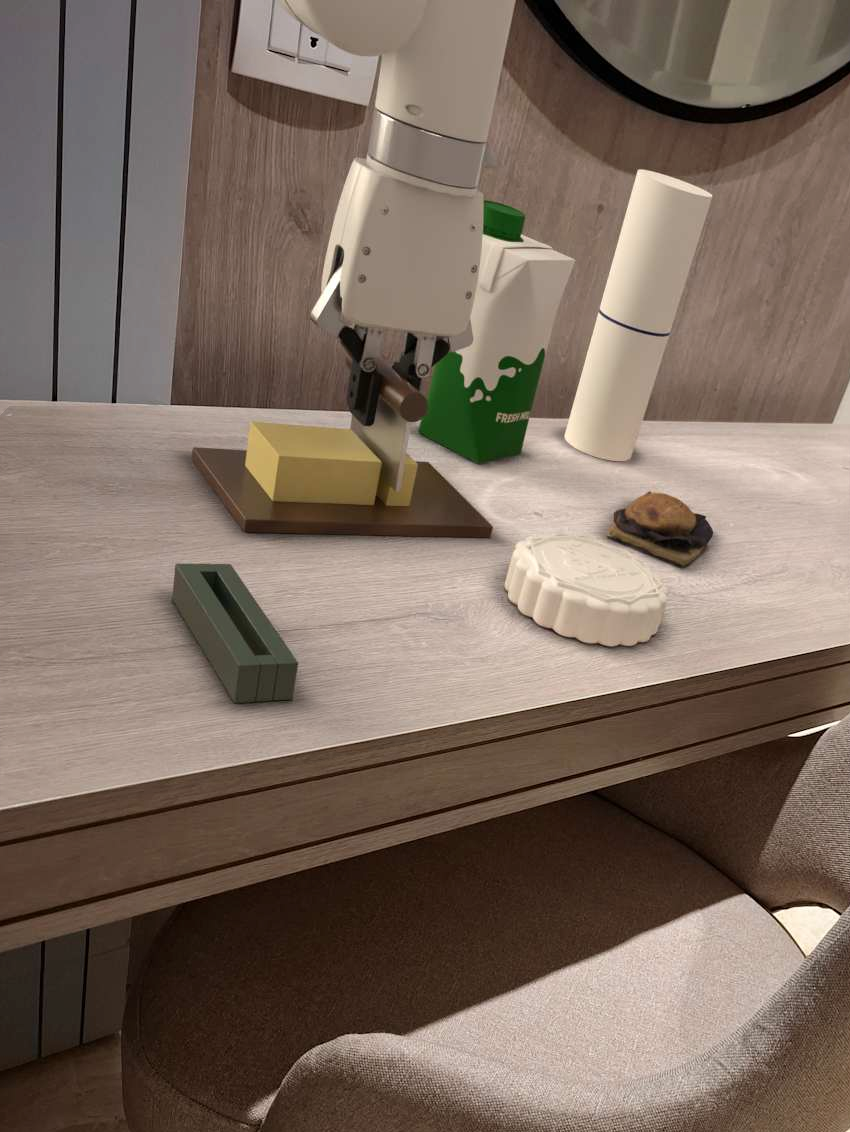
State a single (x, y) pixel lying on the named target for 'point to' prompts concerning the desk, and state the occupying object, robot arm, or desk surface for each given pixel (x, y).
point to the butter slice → (406, 488)
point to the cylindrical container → (636, 314)
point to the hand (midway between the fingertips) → (378, 418)
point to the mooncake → (586, 589)
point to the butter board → (340, 505)
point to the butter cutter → (391, 422)
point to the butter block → (312, 464)
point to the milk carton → (498, 344)
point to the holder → (234, 633)
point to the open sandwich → (662, 527)
